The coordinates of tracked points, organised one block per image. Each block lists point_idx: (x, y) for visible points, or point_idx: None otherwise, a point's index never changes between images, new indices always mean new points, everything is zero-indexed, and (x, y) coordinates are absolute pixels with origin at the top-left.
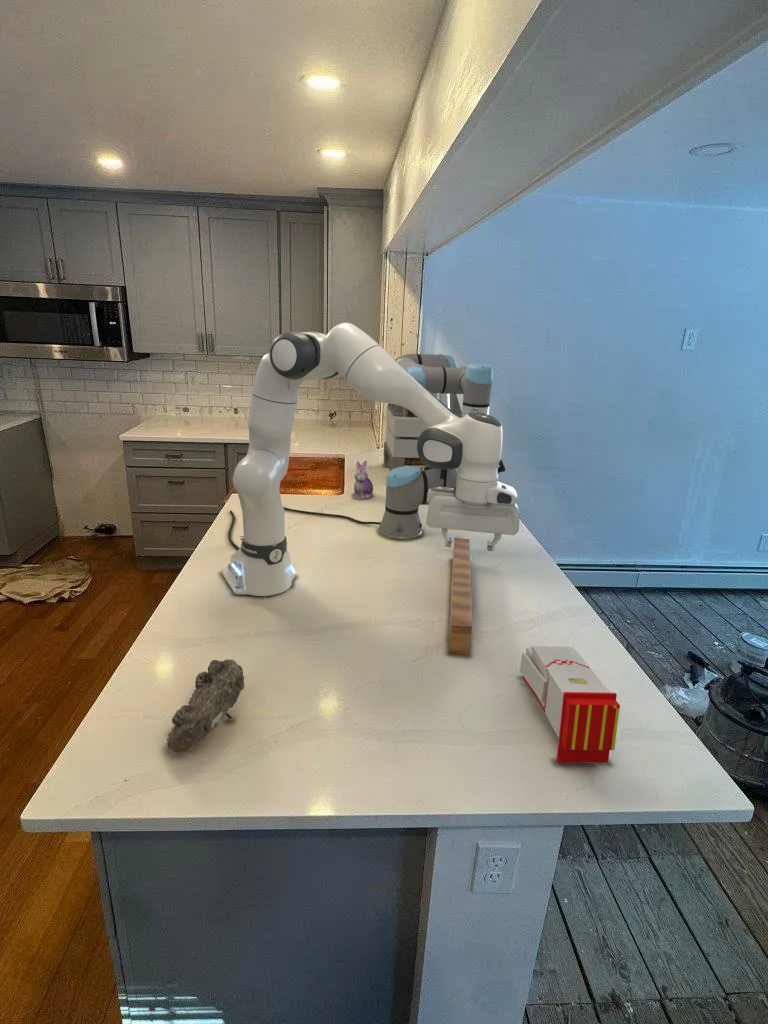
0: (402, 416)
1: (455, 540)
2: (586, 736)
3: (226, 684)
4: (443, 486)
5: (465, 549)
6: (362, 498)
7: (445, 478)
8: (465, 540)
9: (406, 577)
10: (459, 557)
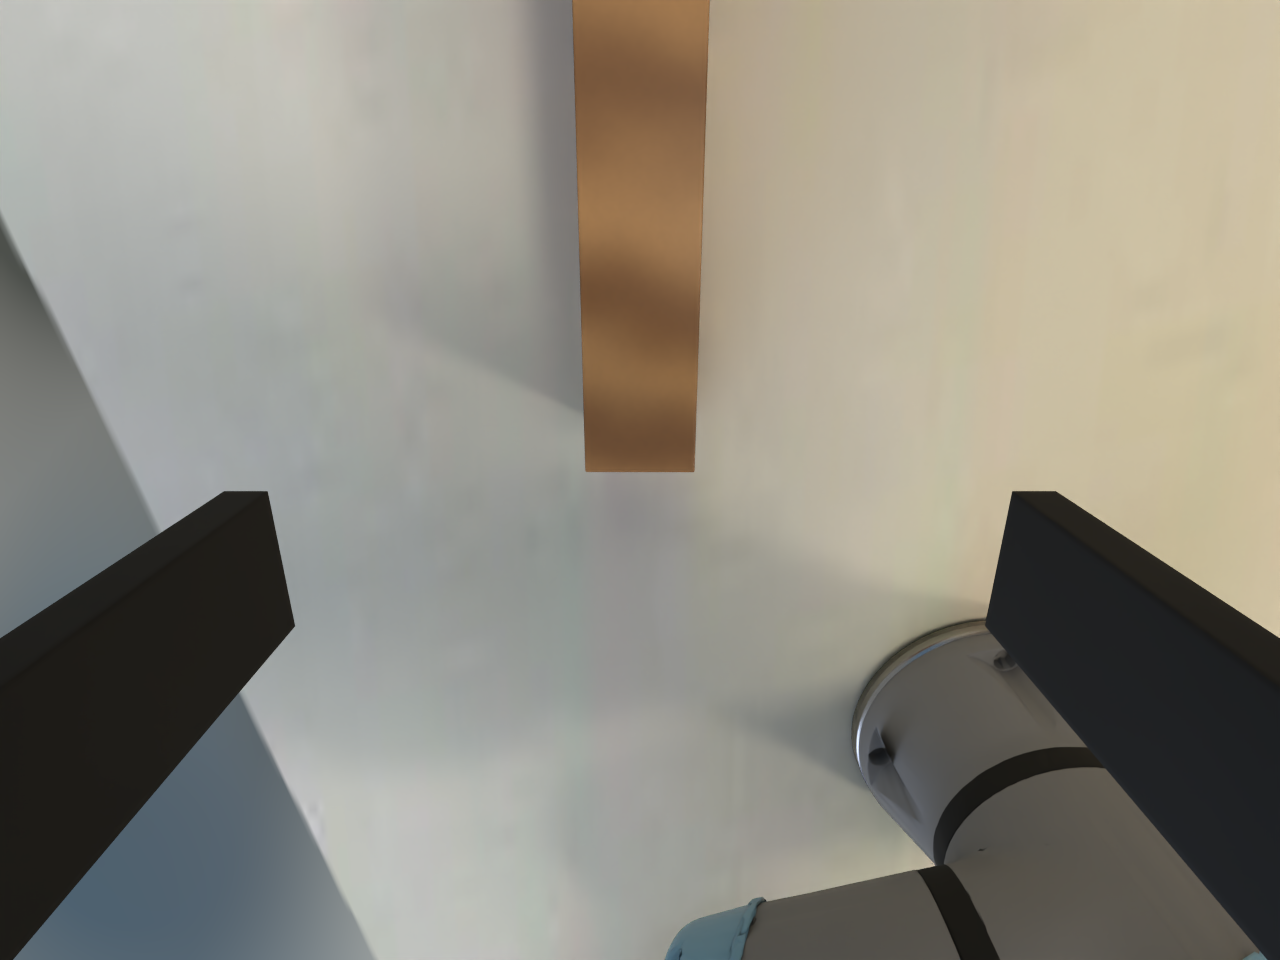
0: None
1: (689, 418)
2: None
3: None
4: (1104, 526)
5: (614, 257)
6: None
7: (1202, 613)
8: (615, 435)
9: (984, 95)
10: (662, 68)
